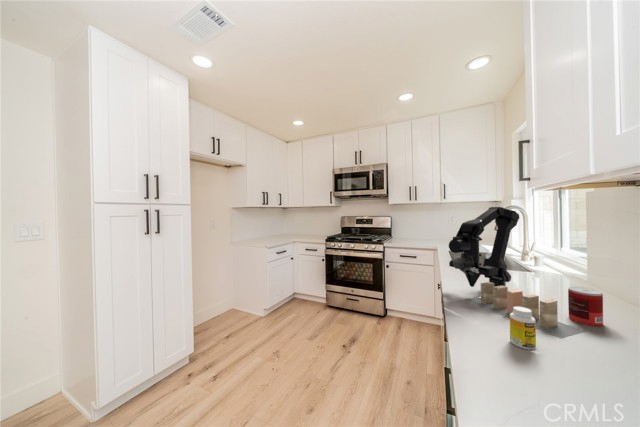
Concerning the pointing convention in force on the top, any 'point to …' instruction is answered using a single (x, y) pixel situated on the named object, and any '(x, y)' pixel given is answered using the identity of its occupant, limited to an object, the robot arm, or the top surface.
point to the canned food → (585, 306)
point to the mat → (557, 331)
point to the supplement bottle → (522, 328)
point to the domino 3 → (514, 299)
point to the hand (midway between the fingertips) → (471, 286)
